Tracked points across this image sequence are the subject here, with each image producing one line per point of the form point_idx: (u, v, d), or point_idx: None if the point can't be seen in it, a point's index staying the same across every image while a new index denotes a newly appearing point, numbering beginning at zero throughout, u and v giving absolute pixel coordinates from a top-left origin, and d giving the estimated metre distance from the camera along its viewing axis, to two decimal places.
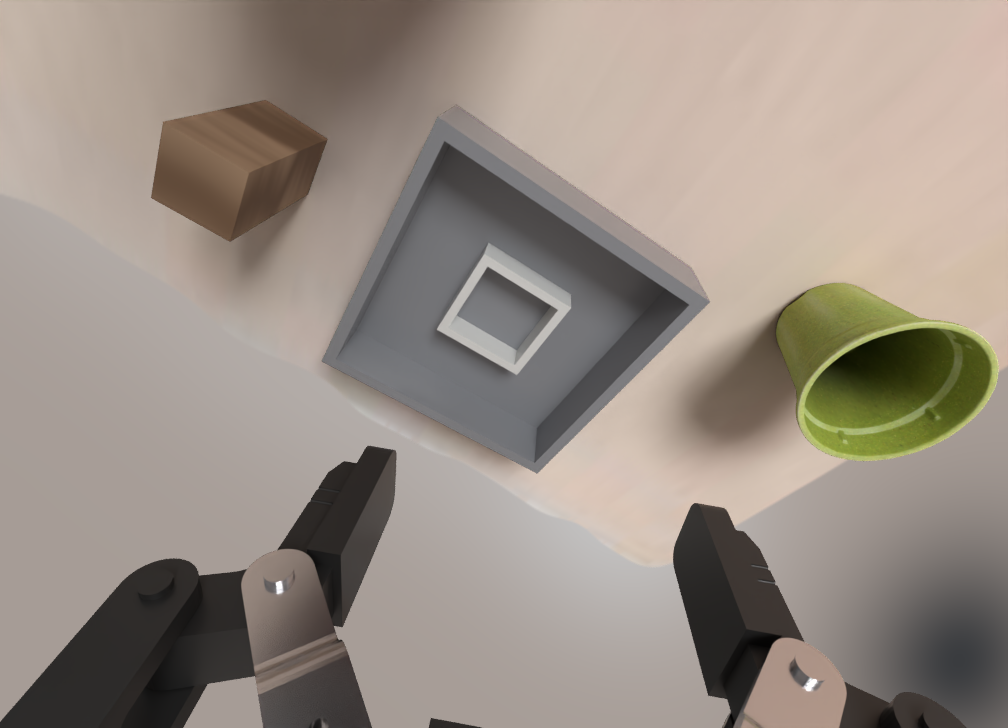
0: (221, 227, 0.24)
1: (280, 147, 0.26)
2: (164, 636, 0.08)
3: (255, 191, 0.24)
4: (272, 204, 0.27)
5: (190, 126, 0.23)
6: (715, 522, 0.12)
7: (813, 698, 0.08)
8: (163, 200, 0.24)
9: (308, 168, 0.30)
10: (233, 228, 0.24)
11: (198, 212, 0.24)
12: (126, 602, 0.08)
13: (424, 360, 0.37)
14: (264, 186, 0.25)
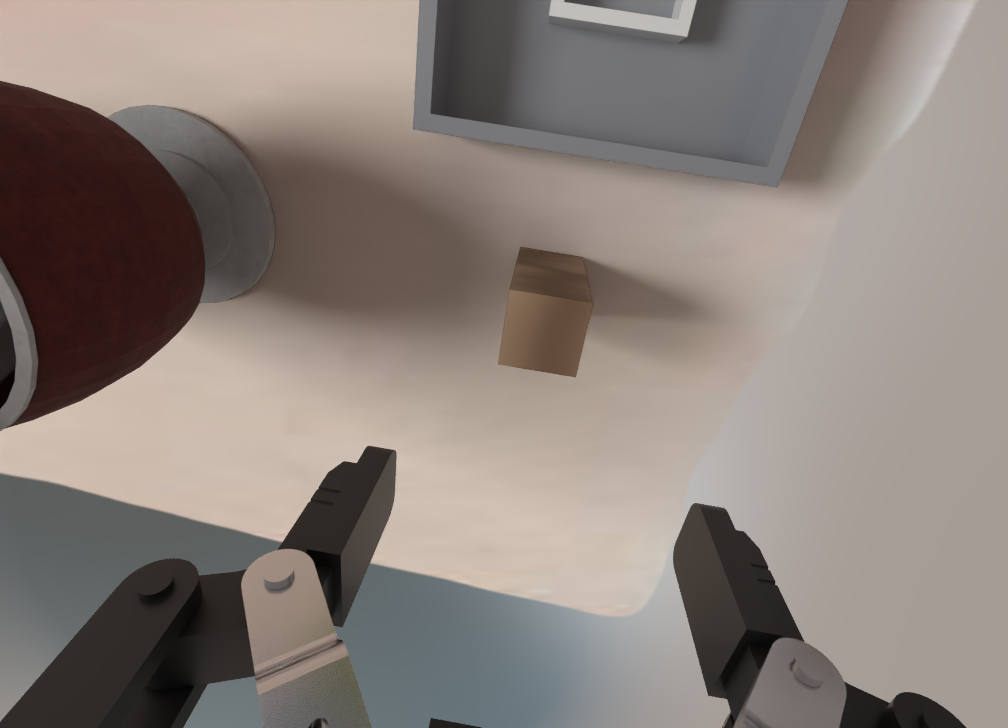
0: (580, 312, 0.23)
1: None
2: (164, 636, 0.08)
3: (539, 286, 0.24)
4: (570, 277, 0.26)
5: None
6: (715, 522, 0.12)
7: (813, 698, 0.08)
8: (573, 366, 0.24)
9: (546, 256, 0.29)
10: (576, 300, 0.23)
11: (572, 335, 0.23)
12: (126, 602, 0.08)
13: (767, 41, 0.24)
14: (538, 281, 0.25)
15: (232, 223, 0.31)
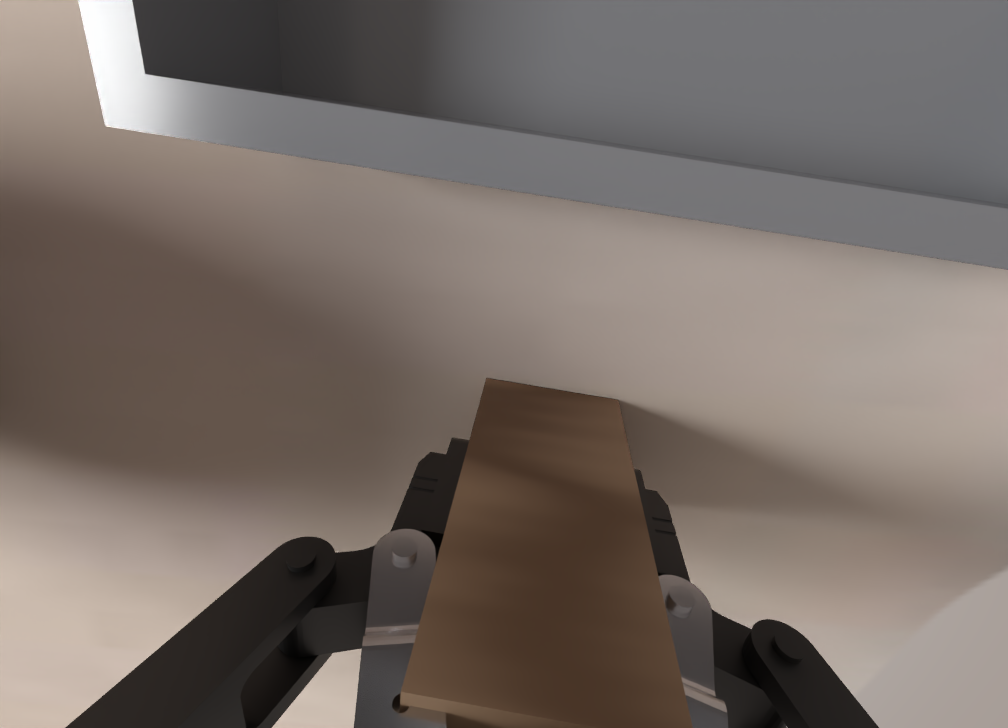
0: None
1: None
2: (295, 610, 0.08)
3: (511, 622, 0.08)
4: (601, 521, 0.10)
5: None
6: None
7: (679, 622, 0.09)
8: None
9: (540, 414, 0.13)
10: None
11: None
12: (276, 567, 0.09)
13: None
14: (512, 579, 0.08)
15: None
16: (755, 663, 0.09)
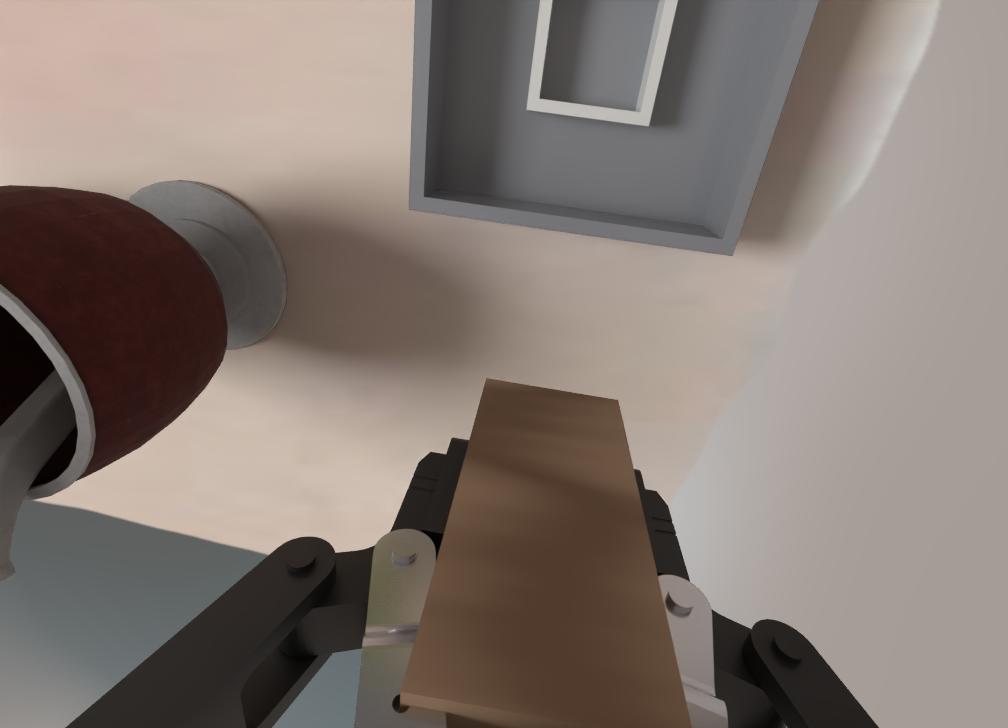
0: None
1: None
2: (295, 610, 0.08)
3: (511, 622, 0.08)
4: (600, 521, 0.10)
5: None
6: None
7: (679, 622, 0.09)
8: None
9: (540, 414, 0.13)
10: None
11: None
12: (276, 567, 0.09)
13: (722, 124, 0.27)
14: (512, 579, 0.08)
15: (248, 281, 0.34)
16: (755, 663, 0.09)
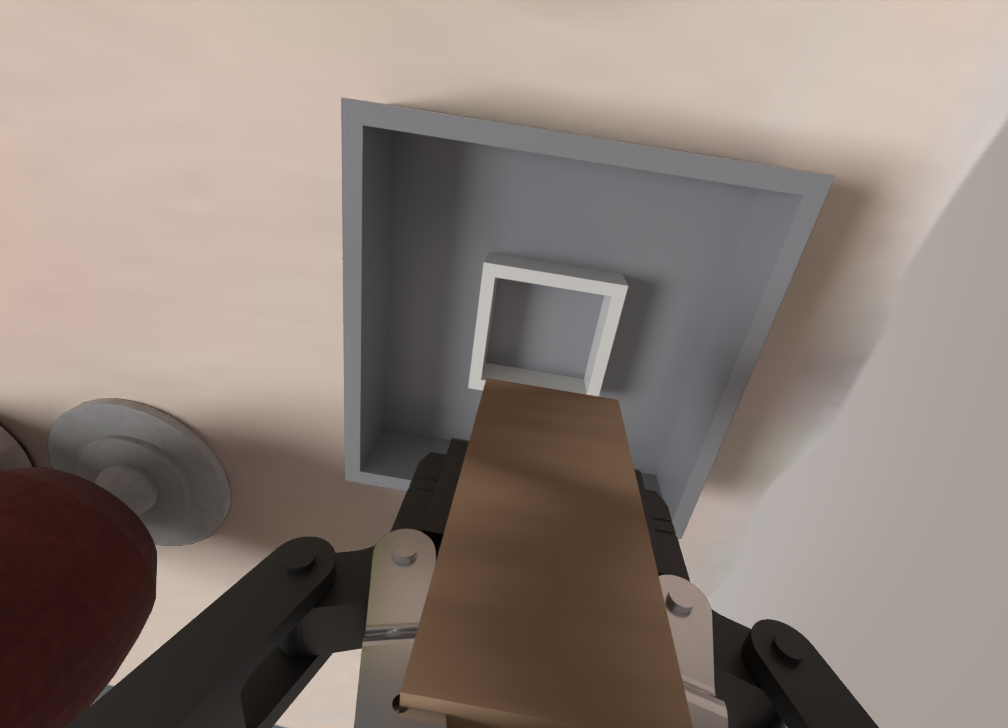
0: None
1: None
2: (295, 610, 0.08)
3: (511, 622, 0.08)
4: (601, 521, 0.10)
5: None
6: None
7: (679, 622, 0.09)
8: None
9: (540, 413, 0.13)
10: None
11: None
12: (276, 567, 0.09)
13: (674, 393, 0.26)
14: (512, 579, 0.08)
15: (189, 492, 0.33)
16: (755, 663, 0.09)
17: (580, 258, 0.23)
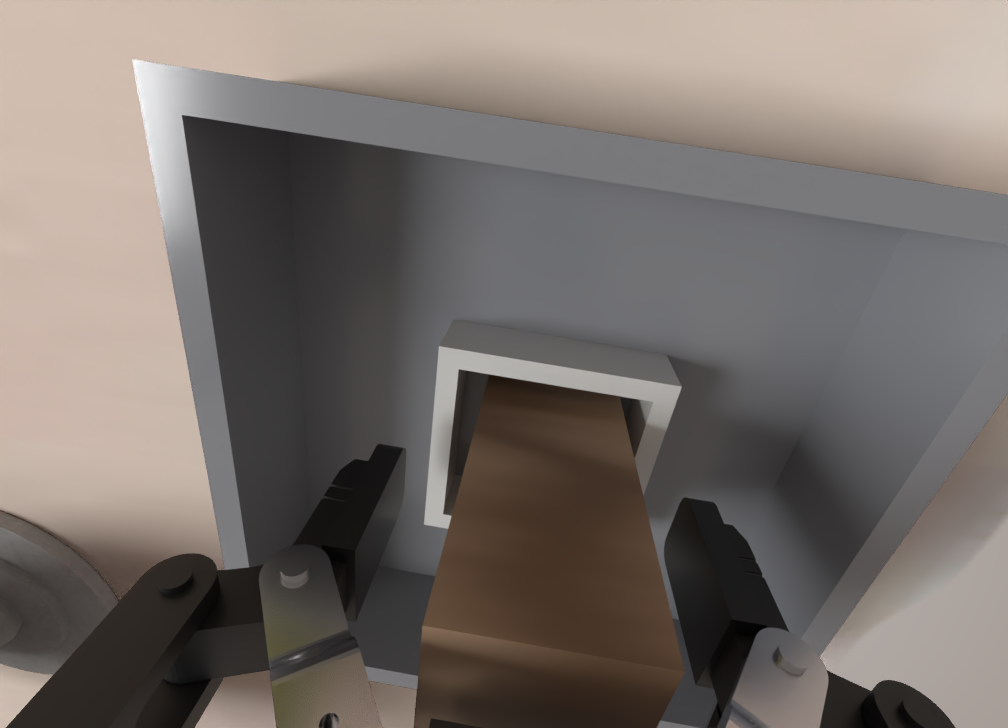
0: (641, 687, 0.07)
1: None
2: (181, 630, 0.08)
3: (519, 571, 0.08)
4: (600, 489, 0.11)
5: None
6: (704, 516, 0.12)
7: (795, 685, 0.08)
8: None
9: (543, 395, 0.14)
10: (631, 661, 0.07)
11: None
12: (146, 595, 0.08)
13: (739, 523, 0.17)
14: (519, 536, 0.09)
15: (64, 617, 0.24)
16: (874, 719, 0.08)
17: (599, 330, 0.15)
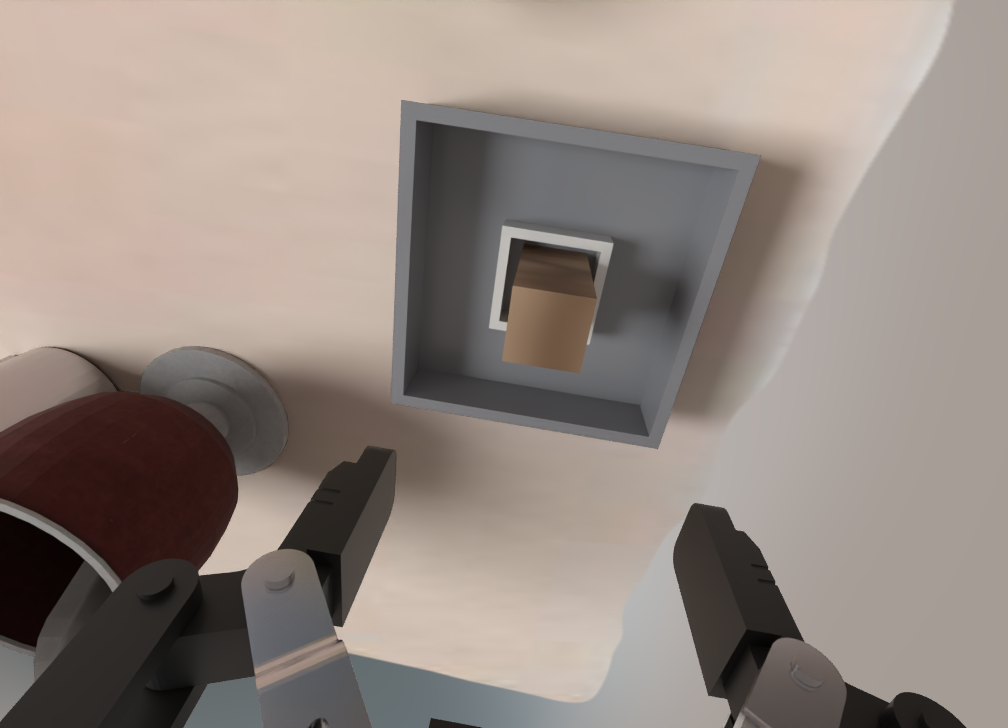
0: (583, 308, 0.23)
1: None
2: (164, 636, 0.08)
3: (542, 282, 0.24)
4: (574, 273, 0.26)
5: None
6: (715, 522, 0.12)
7: (813, 698, 0.08)
8: (577, 363, 0.24)
9: (550, 253, 0.29)
10: (580, 296, 0.23)
11: (576, 331, 0.23)
12: (126, 602, 0.08)
13: (653, 334, 0.33)
14: (542, 277, 0.24)
15: (255, 426, 0.40)
16: None
17: (577, 224, 0.30)
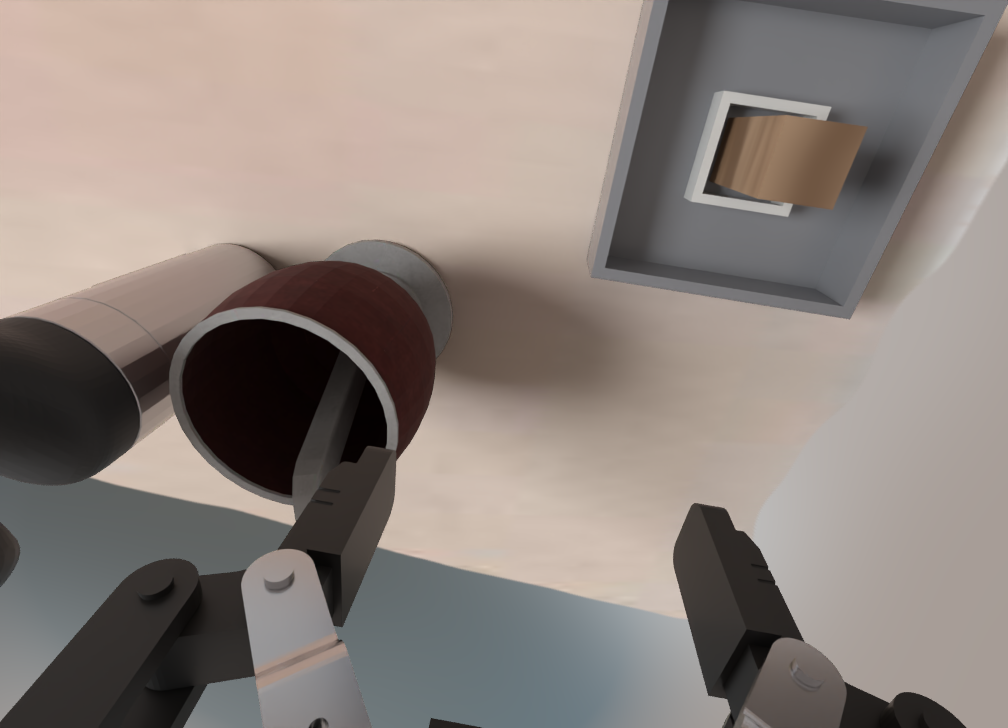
0: (852, 137, 0.24)
1: (751, 128, 0.28)
2: (164, 636, 0.08)
3: None
4: None
5: (754, 184, 0.26)
6: (715, 522, 0.12)
7: (813, 698, 0.08)
8: (832, 198, 0.25)
9: None
10: (851, 124, 0.24)
11: (839, 163, 0.25)
12: (126, 602, 0.08)
13: (841, 212, 0.34)
14: None
15: None
16: None
17: (785, 95, 0.31)
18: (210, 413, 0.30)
